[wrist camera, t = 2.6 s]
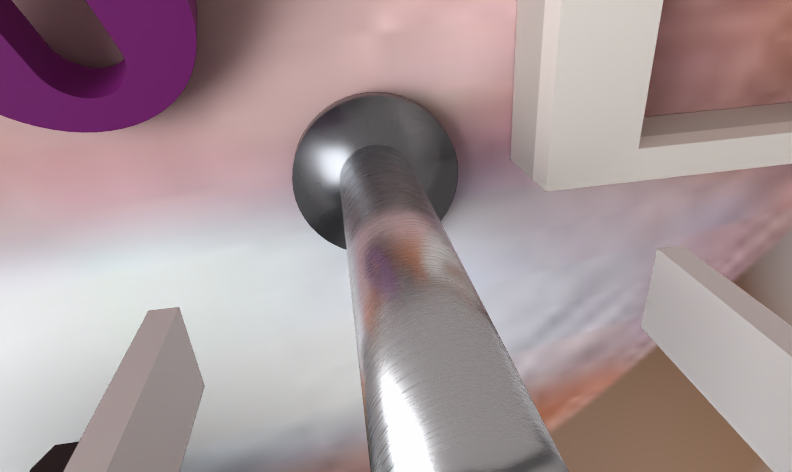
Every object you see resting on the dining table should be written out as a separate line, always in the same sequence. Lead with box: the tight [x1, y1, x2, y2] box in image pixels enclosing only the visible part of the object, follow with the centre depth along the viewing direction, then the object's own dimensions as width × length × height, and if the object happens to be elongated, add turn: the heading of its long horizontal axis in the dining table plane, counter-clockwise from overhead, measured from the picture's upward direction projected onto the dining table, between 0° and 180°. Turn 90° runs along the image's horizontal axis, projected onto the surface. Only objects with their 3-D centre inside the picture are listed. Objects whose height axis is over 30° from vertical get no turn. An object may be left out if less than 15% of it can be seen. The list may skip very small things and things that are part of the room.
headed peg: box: [292, 92, 569, 472], centre depth 17 cm, size 8×8×18 cm
